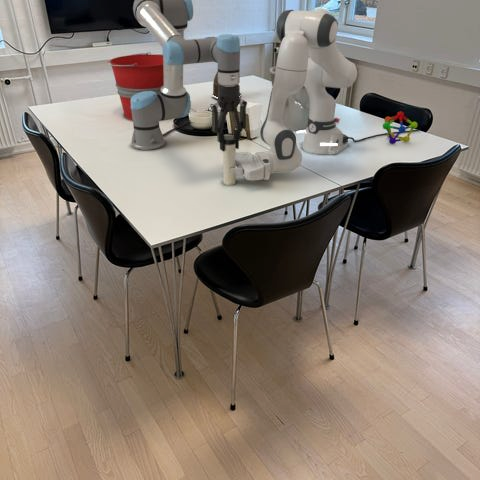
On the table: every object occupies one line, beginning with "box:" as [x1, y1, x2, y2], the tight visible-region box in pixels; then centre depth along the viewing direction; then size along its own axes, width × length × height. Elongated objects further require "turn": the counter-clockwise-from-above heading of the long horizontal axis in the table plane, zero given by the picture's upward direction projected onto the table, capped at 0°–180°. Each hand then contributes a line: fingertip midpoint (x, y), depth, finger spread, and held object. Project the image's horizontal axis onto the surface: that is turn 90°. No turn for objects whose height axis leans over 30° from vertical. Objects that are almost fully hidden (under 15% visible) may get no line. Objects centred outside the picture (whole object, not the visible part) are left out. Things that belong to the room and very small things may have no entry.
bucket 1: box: [106, 51, 164, 121], centre depth 240 cm, size 35×35×30 cm
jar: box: [222, 143, 237, 186], centre depth 167 cm, size 5×5×18 cm
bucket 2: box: [269, 65, 310, 131], centre depth 226 cm, size 30×30×28 cm
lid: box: [224, 134, 236, 145], centre depth 163 cm, size 5×5×2 cm
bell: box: [212, 70, 242, 97], centre depth 278 cm, size 19×26×20 cm
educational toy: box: [382, 110, 418, 145], centre depth 207 cm, size 16×13×15 cm
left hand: (229, 148), depth 165 cm, fingers closed on lid, 5 cm apart
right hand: (227, 167), depth 168 cm, fingers closed on jar, 5 cm apart
